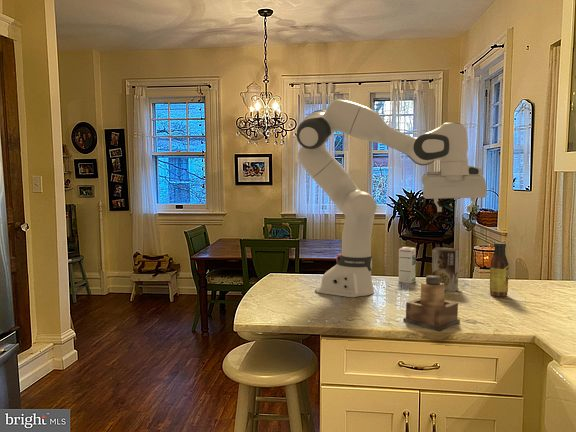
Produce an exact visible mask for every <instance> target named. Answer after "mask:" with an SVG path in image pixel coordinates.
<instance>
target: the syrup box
mask: <svg viewBox="0 0 576 432" xmlns="http://www.w3.org/2000/svg"><path fill="white" fill-rule="evenodd" d="M416 251H417V248H416V247H412V246H403V247H400V248H399V249H398V282H399V283H404V284H413V283H414V282H416V277H417V276H416V275H417V274H416V271H417V269H416V267H417V265H416V263H417V261H416V259H417V257H416V256H417V255H416V254H417V252H416Z"/></svg>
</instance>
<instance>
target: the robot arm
mask: <svg viewBox="0 0 576 432" xmlns="http://www.w3.org/2000/svg"><path fill="white" fill-rule="evenodd" d="M334 132H340V133H343V134H346V135H348V136H351V137H353V138H356V139H360V140H364V141H368V142H373V143H377V144H381V145H384V146H386V147H388V148H391V149H394V150H395V151H398V152H400V153H403V154H404V155H406V156H407V157H408V158H409V159H410V160H411V161H412V162H413V163H414V164H416V165H418V166H428V165H431V164H432V163H434V162H435V161H436V160H438V161H439V162H440V163H439V166H440V167H439V168H440V171H427V172H426V173H424V174H423V175H422V176H421V182H422V185H423V191H422V192H423V193H422V197H423V198H424V199H431V200H433V202H434V204H435V206H436V209H437V213H442V212H443V210H442V209H443V206H440V205H439V203H438V202H439V199H470V200H469V201H470V202H471V203H470V204H469V205H468V206H466V212H468V213H470V212H471V213H472V212H473V211H472V210H473V209H472V208H473V206H474V204H475V202H476V199H479V198H481V199H483V198H486V197H487V195H488V193H487V192H488V189H487V181H486V179H485V177H484V176H482V175H483V173H484V172H483V169H482V168H480V167H476V166H473V165H469V159H468V155H467V154H468V150H469V138H468V131H467V128H466V127H465V125H463V124H462V123H459V122H452V121H451V122H443V123H442V124H441V125H440V126H439V127H437V128H435V129H433V130H431V131H427V132H425V133H422V134H420V135H419V136H418V137H413V136H410V135H407V134H405V133H403V132H401V131H398V130H396V129H394V128H392V127H390V126H389V125H388V124H387V122H386V121H385V120H384V119H383V118H382V116H381V115H380V114H379V113H378V112H376V111H375V110H373V109H372V108H370V107H367V106H366V105H362V104H359V103H357V102H353V101H350V100H346V99H340V98H339V99H334V100H332V101H331V102H330V103H329V104H328V105H327V107H326V109H325V110H324V109H319V110H314V111H313V112H311V113H310V114H309V115H307V116H305V118H304V119H303V121H302V122H301V123H299V124H298V126H297V128H296V135H295V136H296V140H297V142H298V144H299V145H300V146H301V147H300V148H299V151H298V153H297V158H298V160H299V162H300V164H301V165H302V167H303V168H304V169H305V171H306V172H307V173H308V175H309V176H310V177H311V178H312V179H313V180H314V182H316V184H317V185H318V186H319V187H320V188H321V189H322V190H323V192H325V194H326V195H327V196H328V197H329V199H330V200H331V201H332V203H333V204H334V205H335V206H336V207H337V208H338V210H339V211H340V212H341V213H342V214H343V215H344V222H343V223H344V224H343V229H342V234H341V253H338V255H336V260H335V261H336V262H335V263H336V264H335V265H334V266H332V267H331V268H330V269H328V270H326V271H325V273H324V274H323V275H322V278H321V283H320V284H317V285H316V287H315V292H316V293H319V294H324V295H332V296H338V297H347V298H356V297H363V296H364V297H365V296H369V295H373V294H374V293H375V289H374V286H373V281H372V269H373V258H372V257H373V256H372V255H371V253H372V251H371V250H372V232H373V226H374V221H375V216H376V211H377V202H376V200H375V198H374V197H373V196H372V195H371V194H370V193H368V192H367V191H362V190H360V188H359V187H358V186H357V185H356V183H355V182H354V181H353V179H352V178H351V176H350V175H349V173H348V172H347V171H346V169H344V167H343V166H342V165H341V164H340V163H339V162H338V161H337V159H336V158H335V157H334V156H333V155H332V154H331V153H330V151H328V149H327V146H326V143H327V142H328V140H329V138H330V137H331V135H332V134H333V133H334Z"/></svg>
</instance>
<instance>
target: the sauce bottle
mask: <svg viewBox="0 0 576 432" xmlns="http://www.w3.org/2000/svg"><path fill="white" fill-rule="evenodd" d="M493 247H494V248H493V249H494V252H493V254H494V255H493V256H492V258H491V260H490V266H489V293H490V295H491V296H492V297H496V298H497V297H501V298H502V297H503V298H504V297H507V296H508V292H509V267H510V266H509V262H508V258H507V255H506V247H507V243H505V242H494V243H493Z"/></svg>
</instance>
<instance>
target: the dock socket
mask: <svg viewBox="0 0 576 432" xmlns="http://www.w3.org/2000/svg"><path fill="white" fill-rule="evenodd" d="M458 308H459V303H458V302H453V301H450V300H445V299H444V306H442V307H439V308H435V307H431V306H426V305H422V304H421V297H418V298H416V299H415V298H414V299H413V300H409V301H406V303H405V317H403V322H405V323H408V324H412V325H415V326H419V327H422V328H426V329H428V330H429V329H430V330H433V331H436V332H442V331H444V330H446V329H448V328H450V327H453V326H454V325H457V324H460V323H461V319H460V318H458V313H459V311H458V310H459V309H458Z"/></svg>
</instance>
